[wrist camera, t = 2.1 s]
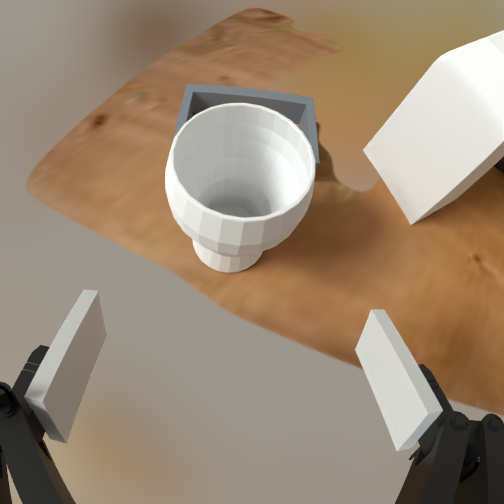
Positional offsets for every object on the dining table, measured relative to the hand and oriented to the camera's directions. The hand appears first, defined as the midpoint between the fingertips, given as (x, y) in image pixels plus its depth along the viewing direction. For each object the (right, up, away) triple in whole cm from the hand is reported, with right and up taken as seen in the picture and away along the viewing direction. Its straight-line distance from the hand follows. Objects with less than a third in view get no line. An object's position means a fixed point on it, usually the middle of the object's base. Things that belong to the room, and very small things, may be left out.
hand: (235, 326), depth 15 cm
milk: (+24, +14, +26) cm, 38 cm away
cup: (-2, +5, +20) cm, 20 cm away
